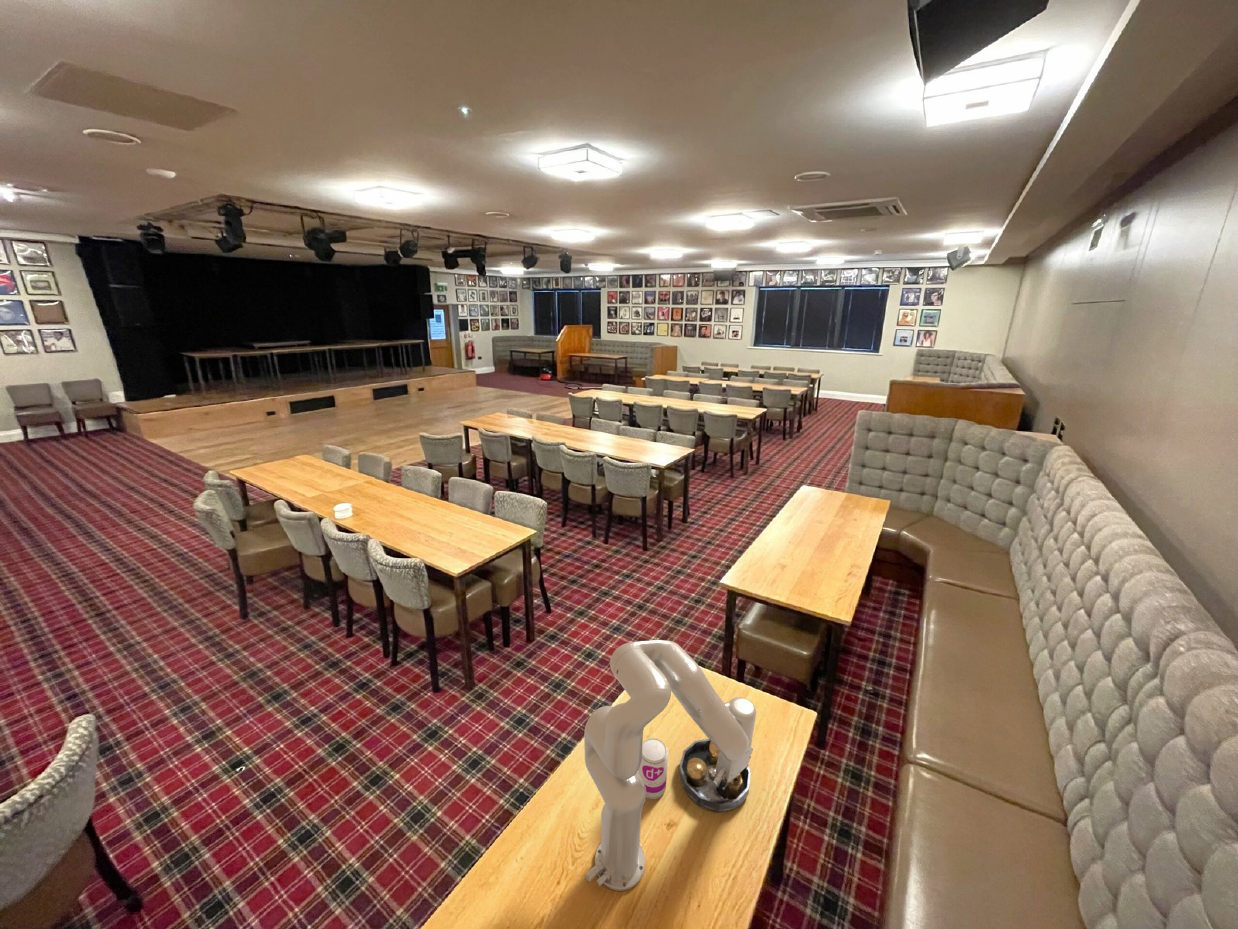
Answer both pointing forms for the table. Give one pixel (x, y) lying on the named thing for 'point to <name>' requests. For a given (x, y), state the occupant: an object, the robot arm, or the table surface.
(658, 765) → the supplement can
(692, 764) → the tray
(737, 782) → the tan hollow faceted cylinder
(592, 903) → the table surface
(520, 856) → the table surface
